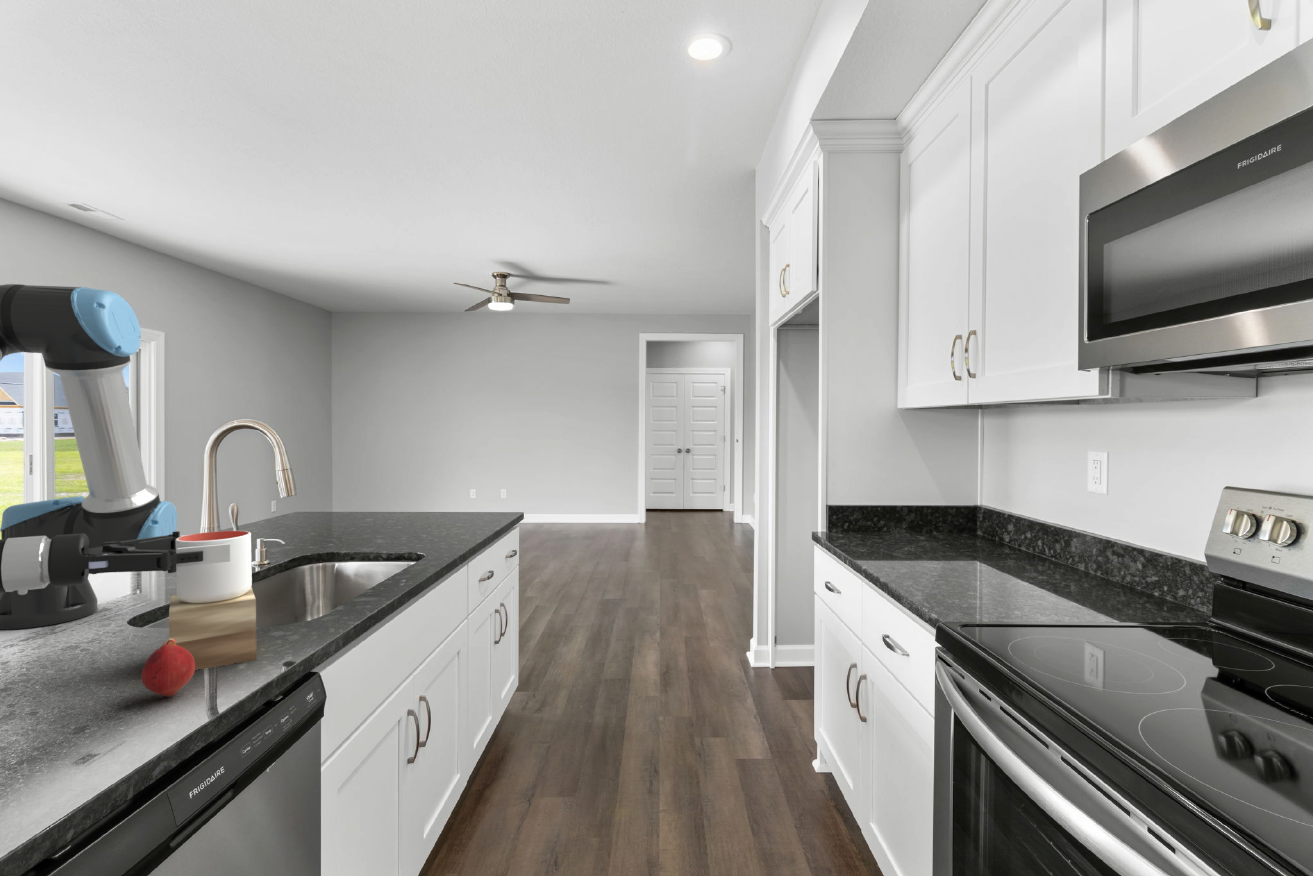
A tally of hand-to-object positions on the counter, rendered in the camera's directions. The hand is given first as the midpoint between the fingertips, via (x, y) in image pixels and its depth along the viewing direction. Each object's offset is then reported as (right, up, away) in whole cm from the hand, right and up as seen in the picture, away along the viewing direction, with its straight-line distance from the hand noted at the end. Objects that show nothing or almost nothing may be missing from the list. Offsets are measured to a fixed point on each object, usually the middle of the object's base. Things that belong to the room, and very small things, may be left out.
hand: (228, 545), depth 102 cm
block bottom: (-2, -18, -1) cm, 18 cm away
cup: (-1, -8, -1) cm, 8 cm away
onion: (+3, -18, -16) cm, 25 cm away
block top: (-2, -13, -1) cm, 13 cm away
